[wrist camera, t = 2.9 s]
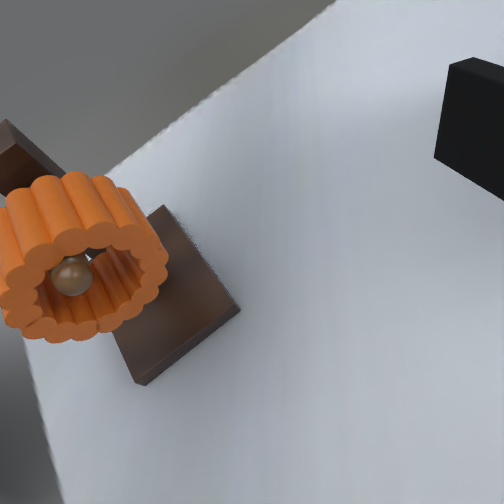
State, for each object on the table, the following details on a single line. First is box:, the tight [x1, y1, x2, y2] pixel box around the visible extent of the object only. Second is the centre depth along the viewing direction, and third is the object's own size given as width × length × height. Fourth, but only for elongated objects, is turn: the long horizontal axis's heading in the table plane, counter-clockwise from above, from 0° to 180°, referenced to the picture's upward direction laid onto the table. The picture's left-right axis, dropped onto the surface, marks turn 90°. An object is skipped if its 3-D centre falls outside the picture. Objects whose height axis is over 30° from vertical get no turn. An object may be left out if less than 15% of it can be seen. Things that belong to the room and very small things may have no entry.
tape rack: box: [0, 119, 240, 386], centre depth 30 cm, size 16×10×18 cm, turn 34°
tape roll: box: [0, 171, 169, 343], centre depth 24 cm, size 9×5×9 cm, turn 124°
